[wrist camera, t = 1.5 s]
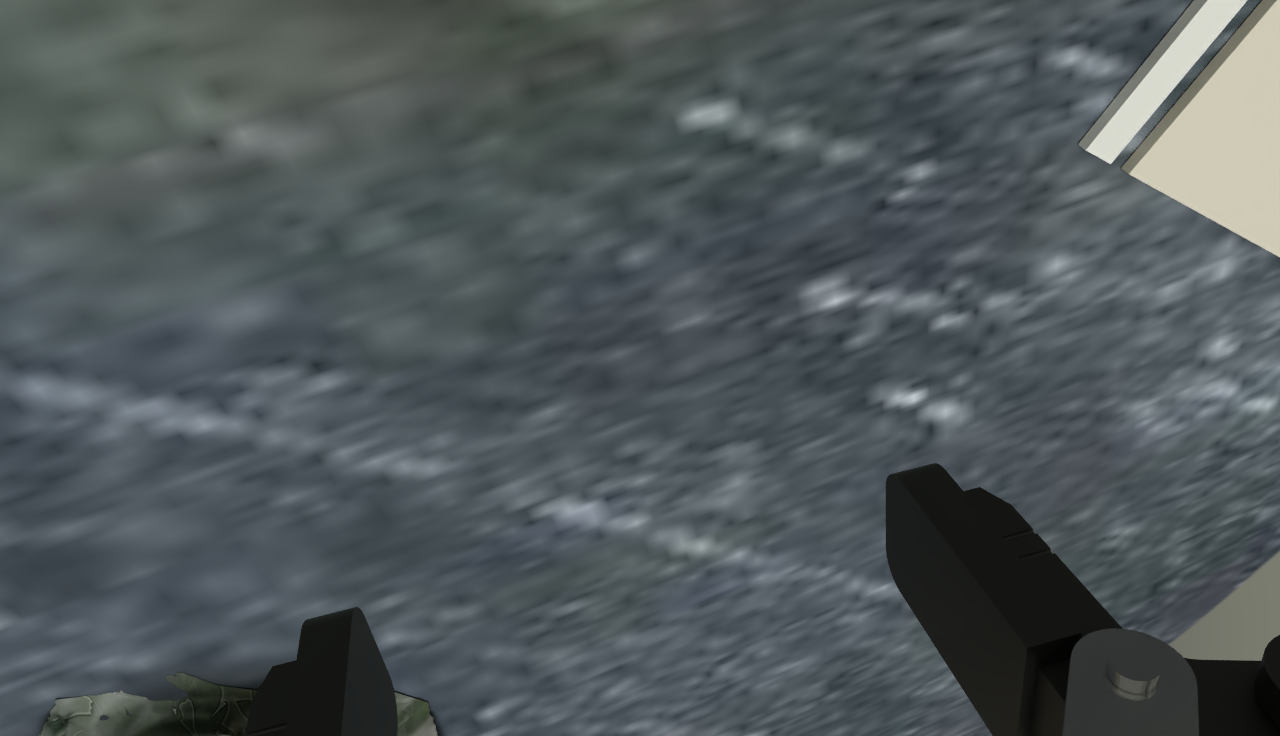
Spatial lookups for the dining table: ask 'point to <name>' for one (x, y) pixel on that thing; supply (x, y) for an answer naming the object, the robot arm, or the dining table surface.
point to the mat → (1208, 120)
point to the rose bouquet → (190, 713)
